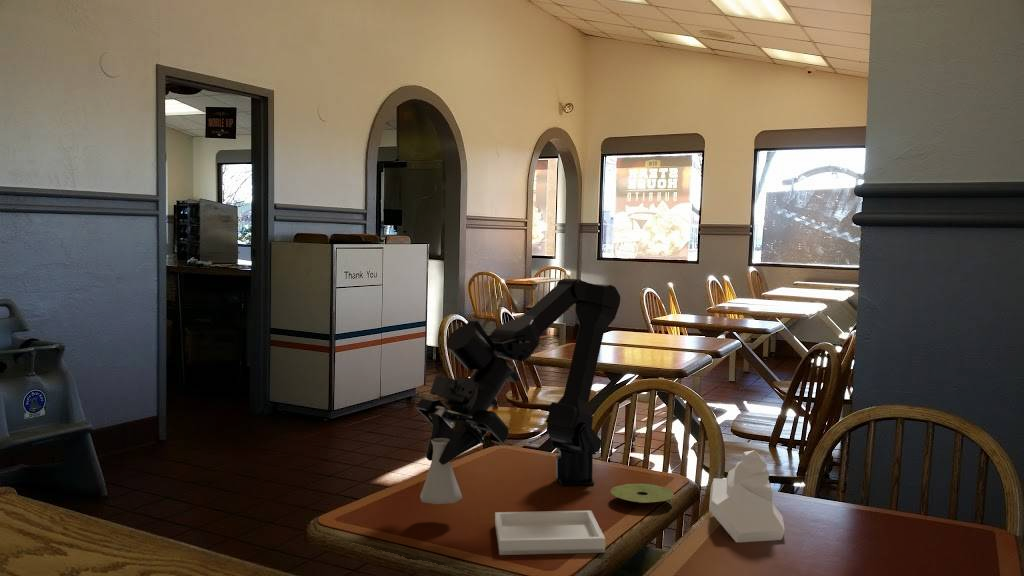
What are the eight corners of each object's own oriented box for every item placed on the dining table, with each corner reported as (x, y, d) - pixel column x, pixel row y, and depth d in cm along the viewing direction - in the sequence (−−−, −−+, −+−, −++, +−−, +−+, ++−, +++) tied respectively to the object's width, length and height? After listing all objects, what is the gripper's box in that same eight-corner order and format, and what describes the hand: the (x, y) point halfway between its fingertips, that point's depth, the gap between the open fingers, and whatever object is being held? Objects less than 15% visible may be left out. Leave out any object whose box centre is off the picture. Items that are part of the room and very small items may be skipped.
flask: (465, 492, 143) (465, 435, 142) (459, 506, 136) (458, 446, 135) (424, 491, 143) (423, 434, 143) (415, 505, 136) (414, 445, 136)
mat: (600, 496, 154) (600, 485, 154) (655, 490, 157) (655, 480, 157) (627, 515, 143) (627, 504, 143) (685, 509, 147) (685, 498, 146)
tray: (590, 523, 139) (591, 510, 139) (605, 552, 126) (605, 538, 126) (495, 525, 138) (495, 512, 138) (499, 555, 125) (499, 540, 125)
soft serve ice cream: (778, 525, 143) (803, 450, 140) (776, 564, 129) (803, 482, 126) (707, 500, 147) (729, 426, 143) (696, 535, 132) (721, 454, 129)
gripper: (423, 352, 147) (372, 423, 140) (495, 363, 134) (443, 443, 127) (458, 390, 153) (410, 460, 146) (530, 404, 140) (481, 483, 133)
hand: (434, 461), depth 138 cm, fingers closed on flask, 3 cm apart
